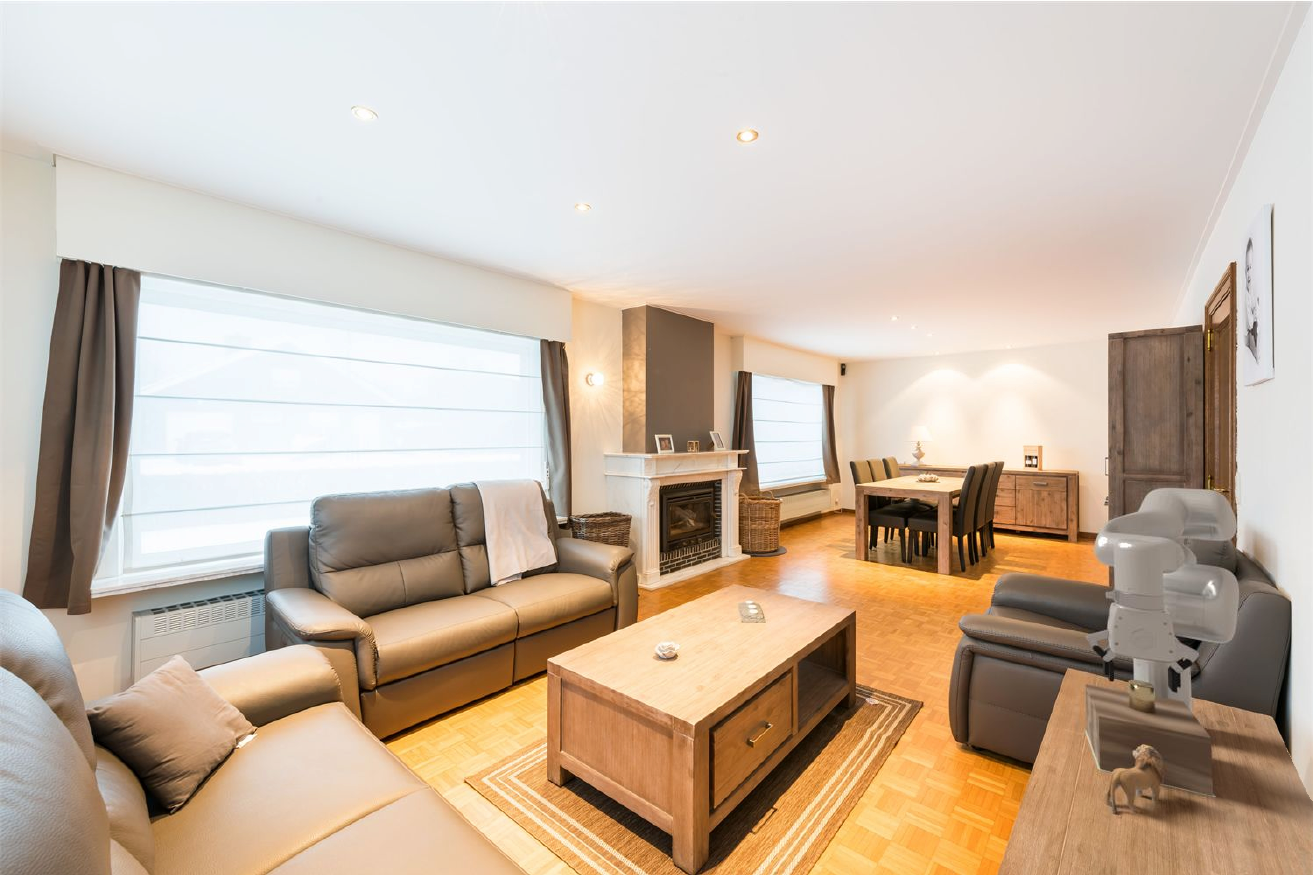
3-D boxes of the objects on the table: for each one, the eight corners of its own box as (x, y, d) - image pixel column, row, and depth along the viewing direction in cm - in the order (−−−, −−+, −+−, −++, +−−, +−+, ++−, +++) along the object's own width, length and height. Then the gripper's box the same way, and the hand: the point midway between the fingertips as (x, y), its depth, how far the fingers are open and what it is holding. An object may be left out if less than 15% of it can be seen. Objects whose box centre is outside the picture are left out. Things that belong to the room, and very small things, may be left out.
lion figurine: (1136, 783, 103) (1135, 736, 103) (1173, 799, 98) (1171, 750, 98) (1097, 807, 96) (1095, 757, 96) (1133, 826, 91) (1132, 773, 92)
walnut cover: (1086, 731, 121) (1084, 662, 121) (1184, 751, 112) (1182, 677, 112) (1100, 768, 107) (1097, 690, 107) (1213, 795, 98) (1210, 710, 98)
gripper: (1088, 598, 111) (1090, 681, 111) (1203, 611, 102) (1205, 702, 102) (1082, 590, 118) (1084, 669, 117) (1190, 602, 108) (1192, 687, 108)
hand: (1140, 684), depth 109 cm, fingers open, 9 cm apart
